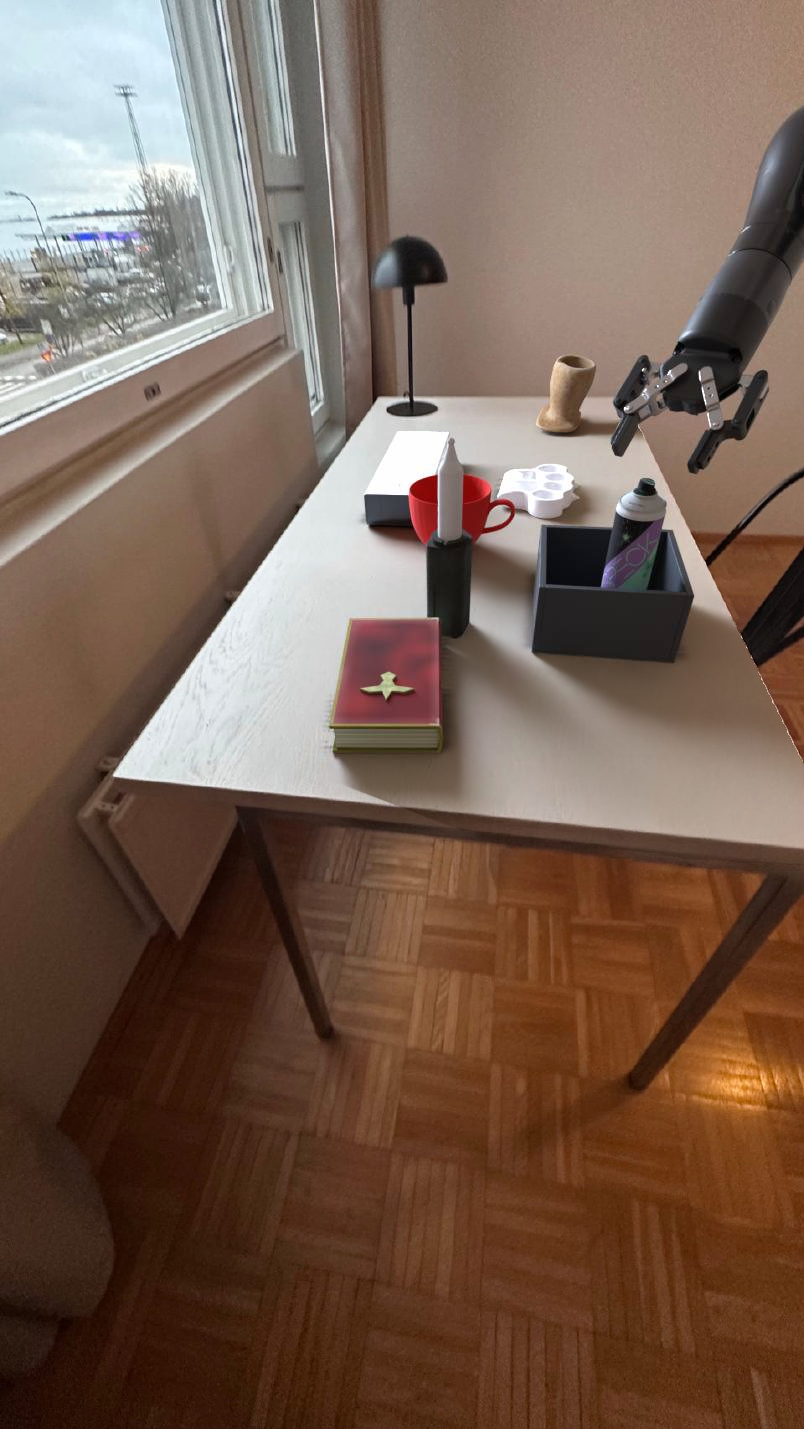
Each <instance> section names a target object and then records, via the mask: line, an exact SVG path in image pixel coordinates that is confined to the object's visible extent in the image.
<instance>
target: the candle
mask: <svg viewBox="0 0 804 1429" xmlns="http://www.w3.org/2000/svg"><path fill="white" fill-rule="evenodd" d="M447 443H448V447H447V451H446V454H445V457H444V460H443V462H442V463H441V465H440V466H439V468H438V529H437V530H435V531H434V532H433V533H432V534H431V538H430V539H429V541H428V542H427V543H426V546H425V549H426V550H425V553H426V554H425V555H426V556H425V564H426V618H439V619H440V621H441V626H442V637H447V638H448V637H449V638H451V639H460V638H462V637H463V635H464V634H465V632H466V630H467V629H468V627H469V625H470V622H471V621H470V620H471V619H470V618H471V596H472V595H471V594H472V570H473V548H474V544H473V537H472V535H470V534H468V533H467V532H466V531H465V530H463V529H462V501H463V474H464V467H463V465H462V464H461V462H460V461H459V458H458V455H457V451H456V447H455V444H456V441H455V439H454V437H450V438H449V439H448V441H447Z"/></svg>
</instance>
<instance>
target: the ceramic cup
mask: <svg viewBox="0 0 804 1429" xmlns="http://www.w3.org/2000/svg"><path fill="white" fill-rule="evenodd" d="M492 491H493V490H492V486H491V484H490V483H489V482H488V481H486V480H485V479H484V478H481V477H479V476H475V475H471V474H466V473H463V501H462V529H463V530H465V531H466V532H467V533H468V534H470V535H472V537H473V545H474V544H476V543H477V541H478V540H479V539H480V537H481V536H482V535H485V534H490V533H495V532H497V531H501V530H503V529H505V528H507V527H508V526H509V525H510V524H511V523H512V521H513V520H514V518H515V516H516V509H515V506H514V504H513V503H512V502H511V501H510V500H507V499H499V500H497V499H496V500H493V501H491V499H492ZM501 505H506V506H508V507H509V510H510V514H509V516H508V517H507V519H506V520H505V521H504V522H502V523H500V524H496V525H493V526H488V527H486V524H487V521H488V517H489V516H490V513H491V512H492V510H493V509H495V508H496V507H499V506H501ZM409 506H410V513H411V519H412V523H413V526H412V527H413V528H414V531H415V533H416V535H417V537H418V539H419V540H420V541H421V542H422V544H423V545H424V546H425V547H426V543H427V542H428V541H429V539H430V538H431V534H432V533H433V532H434V531H435V530H437V529H438V474H437V475H431V476H427V477H424V478H421V479H419V480H417V481H415V482H414V483H413V484H412V485H411V486H410V488H409Z"/></svg>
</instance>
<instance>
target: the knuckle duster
mask: <svg viewBox="0 0 804 1429" xmlns="http://www.w3.org/2000/svg"><path fill="white" fill-rule="evenodd" d="M568 471H569V469H568V467H567V466H564V465H561V464H555V463H545V464H540V465H538V466H536V467H535V468H531V469H530V468H517V469H511V470H509V471H507V472H505V473H503V475H504V476H503V479H502V483H500V489H499V492H498V494H497V497H496V500H499V499H507V500H510V501H511V502H512V503H513V504H514V506H515V510H523V511H525V512H527V513H528V514H529V515H530V516H532V517H534V518H538V519H546V520H547V519H556V518H559V517H561V516H562V515H563V510H565V509H567V508H569V507H570V505H571V504H572V503H573V502H574V501H576V500H579V499H580V497H579V496H578V495H576V493H574V490H576V489H578V488H580V487H581V484H579V483H577V482H575V478H574V476H573V475H572V474H570V473H569V472H568ZM500 506H502V507H504V508H507V509H508V508H509V507H508V506H506V505H500ZM509 509H510V508H509Z"/></svg>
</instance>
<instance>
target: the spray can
mask: <svg viewBox="0 0 804 1429" xmlns="http://www.w3.org/2000/svg"><path fill="white" fill-rule="evenodd" d="M667 507H668V502H667V500H666V499H665V498H663V497H662V496H660V495H659V492H658V490H657V488H656V482H655V480H654V479H653V478H649V477H643V478H640V479H639V480H638V485H637V486H636V487H634V488H633V489H631V492H628V493H625V494H623V495H621V496H620V497H619V498H618V503H617V505H616V508H615V513H614V518H613V524H612V527H613V528H612V533H611V538H610V543H609V548H608V553H607V559H606V564H605V569H604V574H603V579H602V584H601V587H603V588H622V589H640V590H647V587H648V583H649V579H650V575H651V571H652V567H653V563H654V559H655V555H656V551H657V547H658V542H659V538H660V534H661V530H662V529H663V527H664V522H665V518H666V515H667Z"/></svg>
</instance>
